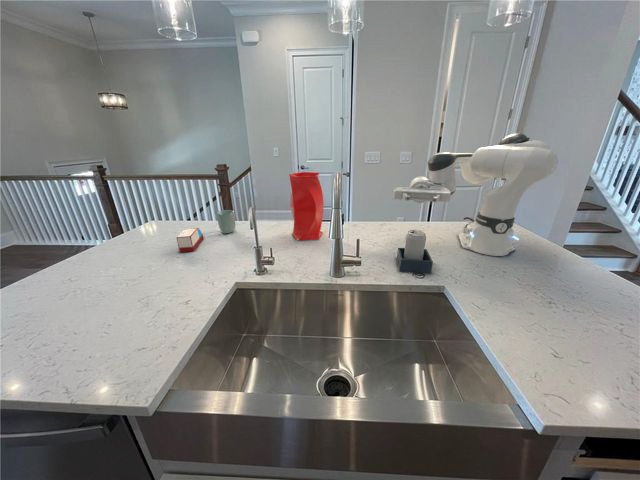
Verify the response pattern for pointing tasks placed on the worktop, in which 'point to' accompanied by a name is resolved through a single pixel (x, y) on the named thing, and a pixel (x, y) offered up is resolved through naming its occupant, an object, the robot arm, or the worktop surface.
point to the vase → (306, 205)
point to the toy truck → (189, 239)
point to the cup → (226, 221)
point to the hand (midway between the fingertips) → (421, 199)
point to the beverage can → (414, 245)
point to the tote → (414, 263)
